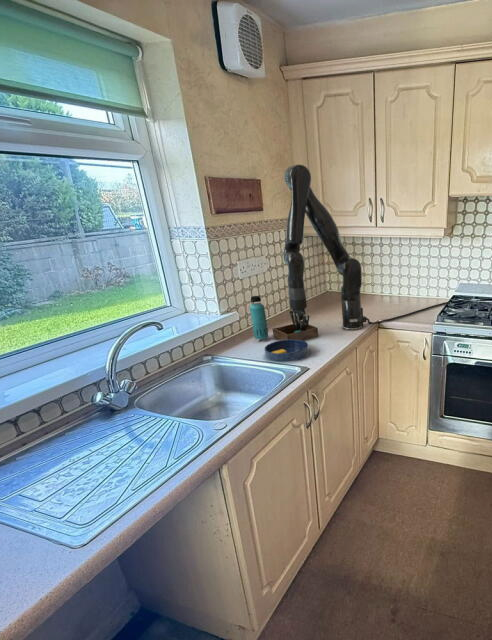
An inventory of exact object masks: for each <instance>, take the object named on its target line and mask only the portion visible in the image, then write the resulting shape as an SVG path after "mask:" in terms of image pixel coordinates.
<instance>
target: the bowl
mask: <svg viewBox="0 0 492 640" xmlns="http://www.w3.org/2000/svg"><path fill="white" fill-rule="evenodd" d="M281 349H284V350H286V351H287V353H272V352H273V351H277V350H281ZM309 351H310V350H309V343H308V342H306V340H303V341H302V340H294V339H290V340H276V341H273V342H270V343H267V344H266V346H264V354H265V359H267V360H268V361H271V362H276V363H288V362H294V361H300V360H302V359H304V358H305V357H307V356H308V355H309V353H310V352H309Z"/></svg>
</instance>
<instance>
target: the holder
mask: <svg viewBox="0 0 492 640" xmlns="http://www.w3.org/2000/svg"><path fill="white" fill-rule="evenodd" d="M294 331H296V326H295V324H293V323H291V324H286V325H283V326H277V327H273V328H272V336H273V339H274V340H277V341H280V340H290V339H294V340H302V341H307V340H310V339H315V338H319V328H318V326H317V327H316V326H314V325H311V324H309V323H308V327H305V330H304V331H300V332H296V333H294Z"/></svg>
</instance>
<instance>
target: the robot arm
mask: <svg viewBox="0 0 492 640" xmlns="http://www.w3.org/2000/svg"><path fill="white" fill-rule="evenodd" d="M284 181H285V184H286V186H287V187H288V189H289V190H290V192H291V193H290V194H291V198H290V199H291V200H290V206H289V212H288V216H287V222H286V235H285V238H286V239H285V244H284V249H283V261H284V263H285V264H286V266H288V274H287V278H286V279H287V287H288V289H287V291H288V303H289V308H290V309H291V310H289V315H290V318H291V322H292V324H295V326H296V331H298V330H301V331H304V330H305V327H308V324H309V321H310V315H309V314H307V313H306V310H305V309H306V308H307V307H308V302H307V292H306V287H305V279H304V275H305V259H304V256H303V254H302V253H301V251H300V250H301V245H302V244H303V243H304V233H305V231H304V230H305V219H306V218H305V217H307V219H308V221H309V223H310V224H311V226H312V229H314V231H315V233H316V235H317V237H318V238H319V239H320V241H321V242H322V244H323V246H324V247H325V249H326V250H327V252H328V253H329V255H330V256H331V259H332V261H333V263H334V266H335V268H336V270H337V272H338V273H339V274H340V276H342V285H341V286H340V299H341V300H340V301H341V316H342V317H341V319H342V329H343V330H346V331H358V330H360V329H362V328H364V323H368V324H369V325H373V324H374V325H375V324H376V325H377V324H381V323H385V322H390V321H393V320H398V319H401V318H405V317H407V316H411V315H414V314H418V313H421V312H423V311H426V310H429V309H432V308H433V309H434V308H436V307H440V306H444V305H448V304H449V303H448V302H449V301H446V302H441V303H438V304H434V305H430V306H428V307H427V306H426V307H424V308H421V309H418V310H414V311H412V312H408V313H405V314H402V315H398V316H394V317H390V318H386V319H382V320H377V321H373V322H372V321H370V319H369V318H368V317H367V316H364V308H363V307H362V299H361V288H362V283H363V282H362V281H363V279H362V275H363V273H362V265H361V262H360V261H359V260H358V259H356V258H354V257H351V255H350V254H349V253H348V251H347V250H346V248H345V246H344V245H343V242H342V238H341V235H340V230H339V228H338V225H337V223H336V222H335V220H334V218H333V216H332V214H331V213H330V211H328V208H326V207H325V205H324V204H323V203H322V202H321V200H319V199H318V197H317V196H316V194H315V192H314V191H313V188H311V183H312V174H311V171H310V170H309V168H308V167H307V166H306V165H304V164H294V165H290V166H288V167H287V168H286V169H285V171H284Z"/></svg>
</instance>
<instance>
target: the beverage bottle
mask: <svg viewBox="0 0 492 640" xmlns="http://www.w3.org/2000/svg"><path fill="white" fill-rule="evenodd" d="M261 301H262V298H261V296H260V295H252V296H251V297H250V302H251V304H250V306H249V312H250V318H251V325H252V331H253V338H254V339H255V340H264V339H267V338H269V329H268V321H267V313H266V311H265V305H264V304H263V303H261Z"/></svg>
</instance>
